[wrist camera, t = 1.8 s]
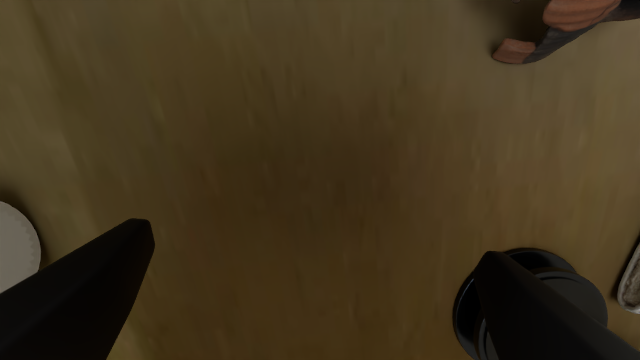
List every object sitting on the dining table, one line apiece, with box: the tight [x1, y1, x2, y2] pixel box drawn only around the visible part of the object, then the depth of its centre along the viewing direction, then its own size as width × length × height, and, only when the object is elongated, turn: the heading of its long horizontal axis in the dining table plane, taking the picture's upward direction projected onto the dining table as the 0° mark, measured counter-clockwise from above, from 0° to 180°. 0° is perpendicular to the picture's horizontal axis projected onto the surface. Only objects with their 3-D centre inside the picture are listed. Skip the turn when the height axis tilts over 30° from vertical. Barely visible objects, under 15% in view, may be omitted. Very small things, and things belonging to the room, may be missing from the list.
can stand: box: [453, 248, 608, 360], centre depth 26 cm, size 12×12×3 cm
